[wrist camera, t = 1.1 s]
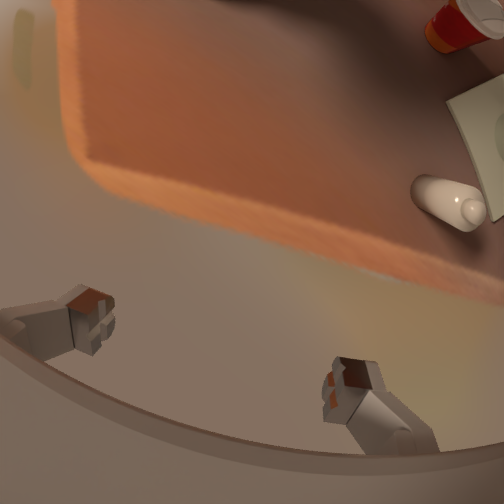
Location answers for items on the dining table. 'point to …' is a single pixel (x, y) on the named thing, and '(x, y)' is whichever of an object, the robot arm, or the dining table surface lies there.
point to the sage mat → (484, 137)
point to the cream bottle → (449, 201)
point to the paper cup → (465, 24)
